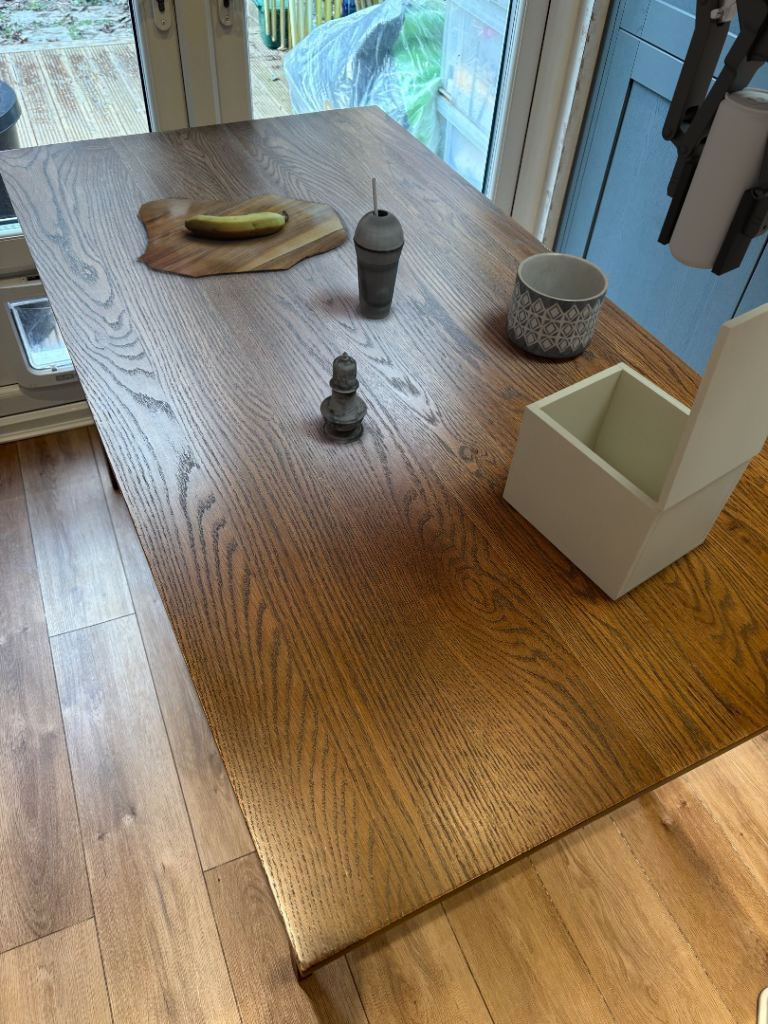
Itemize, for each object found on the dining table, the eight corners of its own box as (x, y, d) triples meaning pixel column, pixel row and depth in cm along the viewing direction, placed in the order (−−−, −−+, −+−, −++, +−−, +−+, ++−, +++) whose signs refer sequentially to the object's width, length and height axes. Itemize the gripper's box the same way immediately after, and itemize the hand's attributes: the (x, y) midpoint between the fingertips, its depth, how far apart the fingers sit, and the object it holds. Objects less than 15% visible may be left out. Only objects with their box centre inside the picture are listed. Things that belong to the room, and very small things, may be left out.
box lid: (721, 323, 56) (730, 328, 56) (832, 271, 63) (841, 275, 62) (655, 507, 69) (662, 512, 69) (753, 448, 76) (760, 453, 75)
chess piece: (356, 450, 93) (359, 372, 84) (312, 437, 94) (311, 359, 85) (372, 421, 97) (377, 344, 88) (330, 409, 98) (331, 332, 89)
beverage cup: (390, 329, 111) (399, 196, 96) (344, 318, 112) (346, 185, 98) (404, 304, 116) (416, 174, 101) (360, 293, 117) (365, 164, 102)
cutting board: (139, 283, 115) (134, 261, 112) (132, 202, 133) (128, 180, 130) (360, 265, 123) (361, 243, 120) (326, 190, 140) (326, 169, 137)
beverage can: (737, 269, 60) (809, 110, 52) (686, 275, 59) (750, 113, 50) (704, 239, 63) (766, 84, 55) (655, 244, 62) (710, 87, 53)
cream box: (502, 497, 89) (525, 406, 79) (589, 451, 96) (622, 361, 85) (614, 601, 80) (657, 513, 69) (703, 542, 86) (754, 454, 76)
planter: (494, 350, 109) (507, 286, 101) (516, 306, 117) (530, 244, 109) (579, 373, 106) (599, 310, 99) (596, 327, 115) (615, 265, 107)
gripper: (683, -138, 47) (586, 218, 64) (963, -77, 38) (762, 321, 55) (754, -142, 50) (644, 199, 67) (1029, -86, 41) (819, 293, 58)
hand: (697, 253), depth 61 cm, fingers closed on beverage can, 5 cm apart
